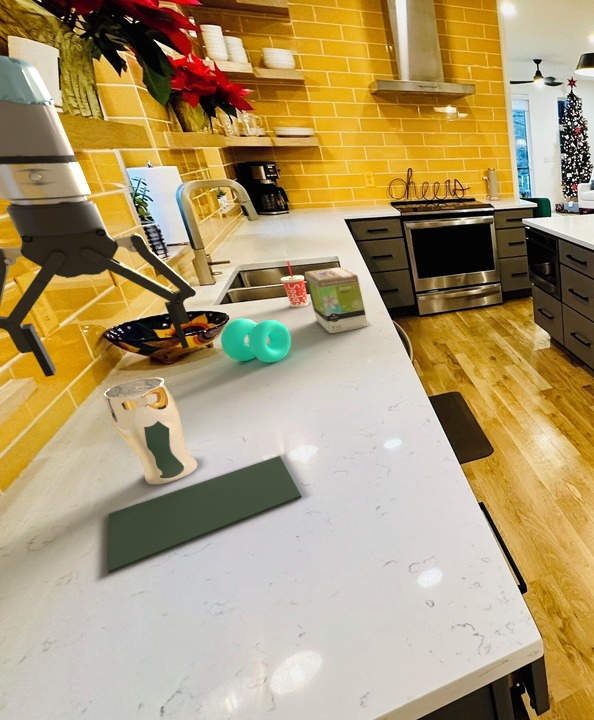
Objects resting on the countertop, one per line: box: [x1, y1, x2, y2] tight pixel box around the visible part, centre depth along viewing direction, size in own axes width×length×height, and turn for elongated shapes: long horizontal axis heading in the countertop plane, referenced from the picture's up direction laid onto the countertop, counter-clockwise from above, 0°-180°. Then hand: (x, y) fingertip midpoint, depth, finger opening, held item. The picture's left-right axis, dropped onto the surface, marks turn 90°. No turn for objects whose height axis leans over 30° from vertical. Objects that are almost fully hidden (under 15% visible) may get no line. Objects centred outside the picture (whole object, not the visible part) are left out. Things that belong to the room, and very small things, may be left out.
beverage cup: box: [280, 261, 309, 308], centre depth 155 cm, size 6×6×14 cm
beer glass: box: [101, 376, 198, 485], centre depth 75 cm, size 7×7×15 cm
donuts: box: [220, 318, 292, 364], centre depth 116 cm, size 10×10×10 cm
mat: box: [107, 455, 303, 574], centre depth 70 cm, size 14×20×1 cm
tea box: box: [304, 266, 369, 334], centre depth 139 cm, size 15×10×15 cm, turn 43°
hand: (122, 358), depth 70 cm, fingers open, 13 cm apart
